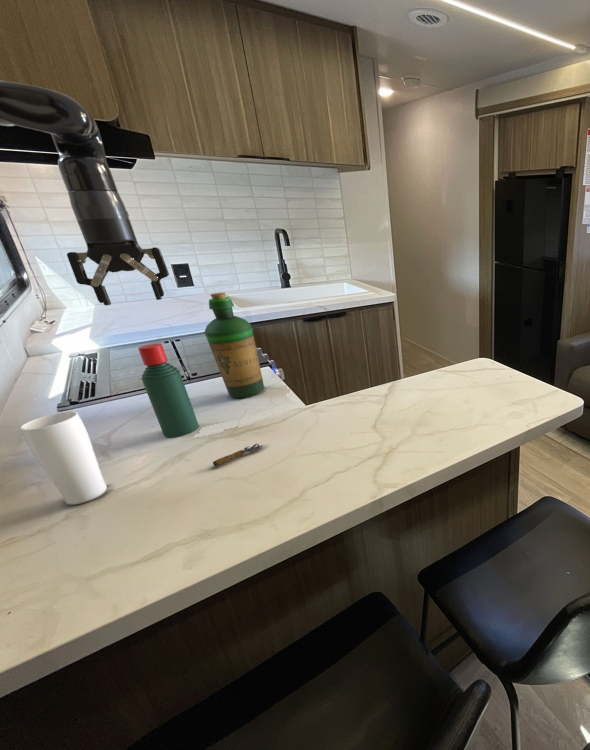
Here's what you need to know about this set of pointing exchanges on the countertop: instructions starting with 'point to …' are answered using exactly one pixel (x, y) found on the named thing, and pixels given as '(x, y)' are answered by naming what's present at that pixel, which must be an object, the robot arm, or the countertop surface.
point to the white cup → (66, 455)
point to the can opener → (235, 455)
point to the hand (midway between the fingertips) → (134, 302)
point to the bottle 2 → (233, 349)
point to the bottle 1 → (169, 400)
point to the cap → (152, 354)
